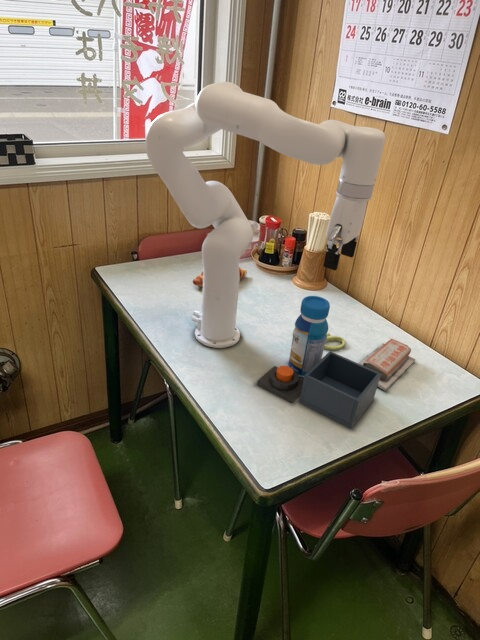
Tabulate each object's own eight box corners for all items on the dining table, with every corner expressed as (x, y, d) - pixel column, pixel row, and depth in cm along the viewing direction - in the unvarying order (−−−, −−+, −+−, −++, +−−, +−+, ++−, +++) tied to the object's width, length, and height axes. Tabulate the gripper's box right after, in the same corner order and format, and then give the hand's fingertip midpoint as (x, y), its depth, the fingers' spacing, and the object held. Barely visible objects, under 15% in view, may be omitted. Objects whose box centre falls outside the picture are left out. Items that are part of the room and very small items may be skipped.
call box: (256, 384, 117) (258, 374, 115) (274, 370, 123) (275, 359, 121) (291, 403, 112) (293, 392, 111) (308, 386, 118) (310, 376, 116)
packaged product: (385, 332, 133) (419, 348, 128) (381, 347, 136) (414, 362, 131) (354, 358, 121) (390, 377, 116) (350, 374, 124) (385, 392, 119)
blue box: (299, 401, 113) (304, 375, 109) (324, 376, 122) (329, 350, 118) (351, 428, 107) (358, 401, 102) (373, 399, 116) (381, 373, 112)
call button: (272, 377, 115) (273, 371, 114) (281, 369, 118) (282, 363, 117) (286, 384, 114) (288, 378, 113) (295, 376, 116) (296, 370, 115)
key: (314, 326, 143) (315, 320, 141) (348, 345, 135) (349, 339, 134) (298, 334, 138) (299, 327, 137) (332, 354, 131) (334, 348, 130)
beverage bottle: (316, 382, 120) (330, 314, 109) (283, 374, 122) (294, 305, 111) (322, 364, 126) (336, 298, 116) (291, 356, 128) (302, 290, 118)
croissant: (240, 281, 171) (235, 259, 170) (256, 280, 162) (252, 256, 161) (188, 293, 159) (183, 270, 158) (203, 292, 151) (198, 267, 150)
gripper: (353, 178, 111) (338, 246, 120) (322, 192, 98) (307, 268, 107) (385, 185, 107) (367, 255, 116) (356, 202, 95) (338, 279, 104)
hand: (338, 261), depth 112 cm, fingers open, 9 cm apart
